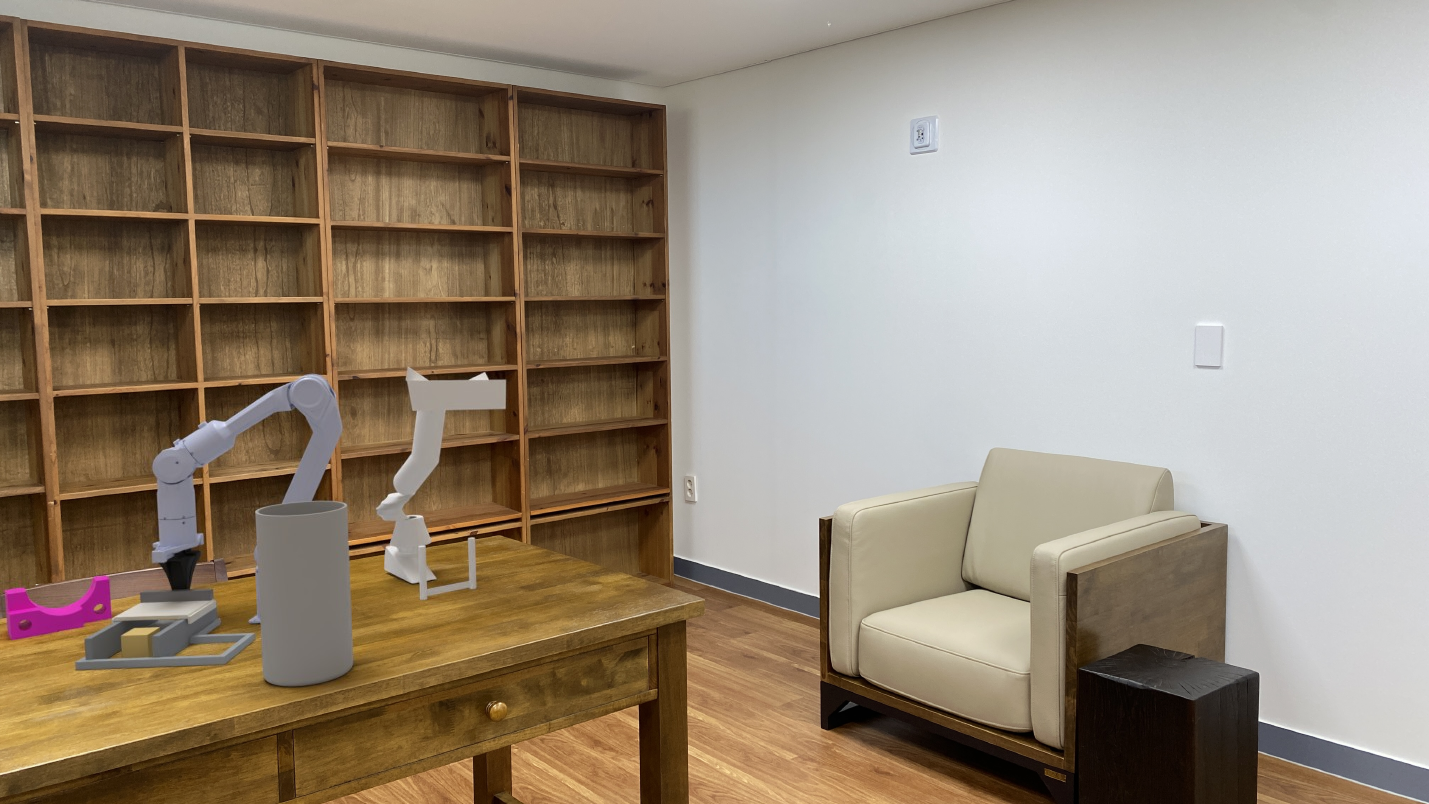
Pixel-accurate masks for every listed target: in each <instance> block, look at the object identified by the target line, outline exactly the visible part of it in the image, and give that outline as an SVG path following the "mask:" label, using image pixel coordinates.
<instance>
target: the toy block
mask: <svg viewBox="0 0 1429 804" xmlns="http://www.w3.org/2000/svg"><path fill="white" fill-rule="evenodd" d="M110 580H111V579H110V578H109V577H108V576H107V574H106V575H99V576H92V580H91V584H90V586H89V589H88V590H87V591H86V592H85V594H84V595H83V596H81V597H80V598H79V599H78V600H77V601H75V602H73V603H72V604H69V605H65V606H62V607H61V606H60V607H46V606H42V605H39V604H38V603H35V602H34V601H32V600H31V599H30V598H29V596H28V593H27V590H26V588H24V587H18V588H12V589H4V599H5V612H6V613H5V614H6V629H7V635H8V637H9V638H10V640H11V641H15V640H21V639H26V638H31V637H37V636H44V635H47V634H48V635H49V634H53V633H56V632H57V633H58V632H64V631H69V630H75V629H79V628H84V627H85V626H84V624H88V623H89V624H90V623H94V622H98V621H105V620H111V619H113V616H112V602H111V601H112V599H111V584H110V583H111V582H110ZM100 605H101V607H100V608H99V609H96V610H95V608H96V607H97V606H100Z"/></svg>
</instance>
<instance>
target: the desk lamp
mask: <svg viewBox="0 0 1429 804" xmlns="http://www.w3.org/2000/svg"><path fill="white" fill-rule="evenodd" d="M405 381H406V383H407V388H408V394H409V399H410V405H411V410H412V411H413V412H416V417H415V424H414V425H415V426H414V430H413V431H414V433H413V441H412V448H411V453H410V455H409V456H408V458H407V459H406V461H405V462H404V464H402V465H401V467H400V468H399V469H398V471H397V473H396V474H395V475H394V477H393V483H392V484H393V487H394V490H395V492H393V493H389V494H387V497H386V498H385V499H384V500H382V501H381V502H380V504H379V505H378V506H377V507H376V508H375V510H376V515H377V516H379V517H381V518H382V519H381V520H383V521H384V522H385V521H386V522H394V521H395V525H394V528H393V531H392V536H391V539H390V543H389V545H388V546H385V552H384V565H383V566H384V567H383V570H385V571H386V572H389V573H390V574H392V575H394V576H396V577H398V578H400V579H403V581H406V582H408V583H411V584H417V583H419V599H420V601H424V600H428V596H434V595H438V594H443V593H449V592H452V591H453V592H454V591H458V590H463V589H469V590H475V589H477V565H476V563H477V562H476V538H475V537H468V538H467V543H468V544H467V545H468V546H467V547H468V548H467V549H468V551H467V553H468V580H467V581H461V582H456V583H452V584H447V585H440V586H436V587H431V588H428V581H431V580H436V579H437V577H436V576H435V574H434V573H433V572H432V570H431V568H429V566H428V564H427V552H426V551H427V550H426V548H427V547H426V545H429V544H431V543H432V539H431V537H430V534H429V531H428V528H427V525H426V523H425V519H424V516H423V515H420V514H409V515H408V514H405V512H404V511H403V508H404V506H405V504H406V503H408V502H409V501H410V499H411V498H412V497H413V496H415V495H416V492H417V491H418V490H419V488H420V487H421V486H422V484H423V483H424V482H425V481H426V479H427V478H428V477H429V476H430V474H432V472H433V471H434V469H435V468H436V467H437V466H438V464H439V462H440V455H441V450H442V449H441V447H442V440H443V433H444V425H445V420H446V419H445V418H446V413H447V412H446V411H470V410H473V411H474V410H506V408H507V407H506V405H507V404H506V402H507V400H506V399H507V379H489V377H488V375H487V374H486V372H485V371H484V372H481V373H480V374H478V375H476V376H474V377H471V378H470V379H454V380H450V379H449V380H447V379H445V380H444V379H443V380H441V379H440V380H438V379H435V380H432V379H431V380H429V379H428V378H426V377H424V375H422V374H421V373H418V372H417V371H415V370H414V369H413V368H411V367H410V366H407V369H406V376H405Z"/></svg>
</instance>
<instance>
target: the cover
mask: <svg viewBox="0 0 1429 804" xmlns="http://www.w3.org/2000/svg"><path fill="white" fill-rule="evenodd" d="M139 597H140V603H138V604H135V605H134V606H131V607H130V608H128V609H126V610H125V611H123V612H121V613H119V614H117V615H115V616H114V617H112V618H110V621H111V622H110V624H112V623H114V622H116V621H129V620H179V619H188V624H191V623H193V622H194V621H196V620H197V619H199V618H200V617H202V616H204V615H205V614H207V613H208V612H210V611H211V610H213V609H214V608H216V607H217V608H218V605H217V606H216V600H217V599H215V598H214V588H190V589H180V590H172V589H156V590H153V589H152V590H149V589H148V590H142V591H140V592H139Z"/></svg>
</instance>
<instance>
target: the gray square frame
mask: <svg viewBox="0 0 1429 804" xmlns="http://www.w3.org/2000/svg"><path fill="white" fill-rule="evenodd" d="M215 600H216V606H217V607H216V608H214V609H213V610H211V611H210V612H208V613H207V614H205V615H204V616H202V617H200V618H199V619H197V620H196V621H194V622H193V623H191V624H188V619H159V620H129V621H116V622H114V623H112V624H111V623H110V624H109V625H107V626H104V627H103V628H101V629H99V630H98V631H96V632H93V633H92V634H90V635H88V636H87V637H84V640H83V641H84V653H85V654H84V655H85V656H83V657H82V658H79V659H78V660H77V661H74V667H75V671H78V670H79V671H80V670H84V671H85V670H104V669H105V670H106V669H107V670H108V669H133V668H134V669H137V668H157V667H158V668H161V667H162V668H163V667H186V666H187V667H189V666H190V667H192V666H193V667H194V666H213V665H214V666H216V665H218V666H219V665H226V664H227V663H228V662H230V661H231V660H232V659H233V658H235V657H236V656H237V655H238V654H240V652H242V651H243V650H245V648H246V647H248V646H249V645H250V644H252V643H253V642H254V641H255V640H256V633H255V632H250V633H249V632H247V633H245V632H242V633H216V634H215V633H214V634H213V633H211V634H209V633H210V632H212V631H214V629H216V628H218V627H219V626H221V622H222V621H221V618H218V604H217V603H218V602H217V599H215ZM153 627H160V632H158V633H157V634H155V635H154V636H152V642H153V657H148V658H122V657H121V658H110V657H112V656H114V655H115V654H117V653H119V652H121V651H122V647H121V635H123V634H125V633H127V632H128V631H130V630H132V629H134V628H153ZM221 643H222V644H223V643H234V644H232V645H231V646H230V647H229V648H227V649H226V650H225V651H224V652H222V653H221V654H209V655H205V654H204V655H203V654H202V655H180V656H179V655H178V656H176V654H178V653H179V652H182V650H184V649H185V648H187V647H188V646H190V645H200V644H221Z"/></svg>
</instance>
